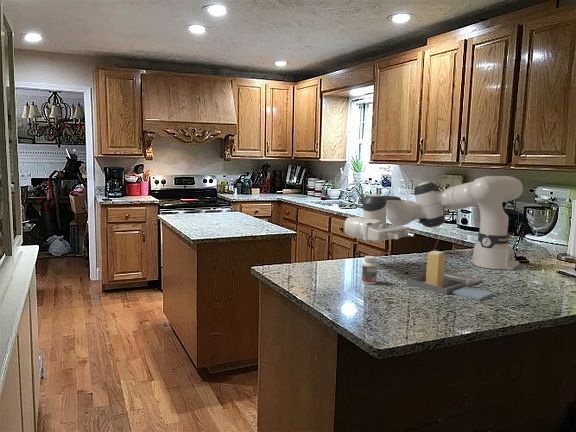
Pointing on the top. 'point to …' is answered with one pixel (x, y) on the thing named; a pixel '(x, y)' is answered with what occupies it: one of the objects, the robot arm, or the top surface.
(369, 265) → the pill bottle
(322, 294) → the top surface
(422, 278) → the case
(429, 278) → the block
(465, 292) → the mat
